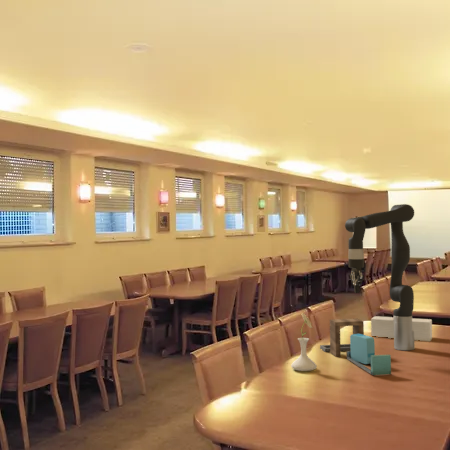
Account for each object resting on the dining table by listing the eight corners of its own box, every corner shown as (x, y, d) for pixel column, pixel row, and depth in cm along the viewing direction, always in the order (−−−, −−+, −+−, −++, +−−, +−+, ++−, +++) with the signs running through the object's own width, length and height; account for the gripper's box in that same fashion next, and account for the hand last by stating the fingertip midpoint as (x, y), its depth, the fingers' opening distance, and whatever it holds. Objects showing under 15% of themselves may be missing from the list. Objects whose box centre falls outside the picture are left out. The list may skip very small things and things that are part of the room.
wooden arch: (357, 351, 260) (357, 318, 260) (364, 355, 252) (363, 321, 252) (330, 353, 258) (329, 319, 258) (335, 357, 250) (335, 322, 250)
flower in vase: (316, 373, 220) (315, 315, 221) (290, 372, 223) (289, 315, 223) (317, 366, 233) (316, 311, 234) (292, 365, 236) (291, 311, 236)
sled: (362, 357, 245) (362, 341, 246) (391, 374, 216) (390, 355, 216) (346, 358, 244) (346, 341, 244) (372, 375, 215) (372, 356, 215)
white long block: (371, 337, 297) (371, 318, 297) (375, 334, 306) (374, 316, 306) (430, 341, 282) (429, 322, 282) (432, 338, 291) (431, 319, 292)
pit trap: (352, 347, 271) (352, 343, 271) (358, 350, 263) (358, 346, 263) (320, 348, 268) (320, 345, 268) (325, 352, 260) (325, 348, 260)
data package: (375, 363, 233) (374, 337, 233) (367, 365, 231) (366, 338, 231) (358, 357, 244) (357, 332, 244) (350, 359, 242) (349, 333, 242)
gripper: (368, 258, 248) (369, 294, 248) (357, 257, 261) (358, 291, 261) (354, 258, 247) (354, 294, 247) (343, 257, 260) (344, 291, 260)
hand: (356, 292), depth 254 cm, fingers closed
